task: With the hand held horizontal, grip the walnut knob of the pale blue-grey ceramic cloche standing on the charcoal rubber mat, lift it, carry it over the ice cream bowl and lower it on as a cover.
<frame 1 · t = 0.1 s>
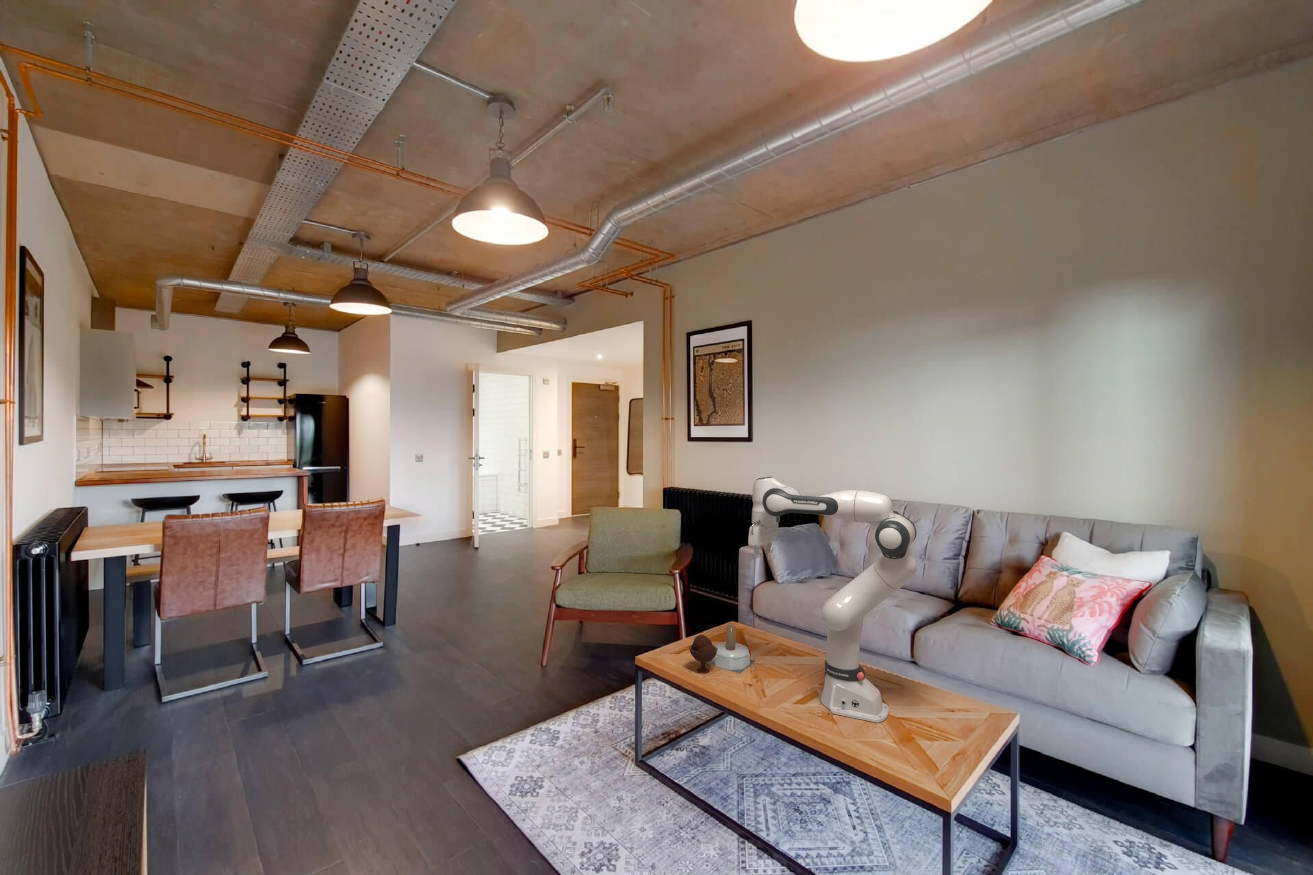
hand: (762, 555, 214), 48 cm above the table, tool pointing down, fingers open, 8 cm apart
ice cream bowl: (702, 672, 221), on the table
mat: (730, 663, 230), on the table
cloche: (730, 662, 230), resting on mat
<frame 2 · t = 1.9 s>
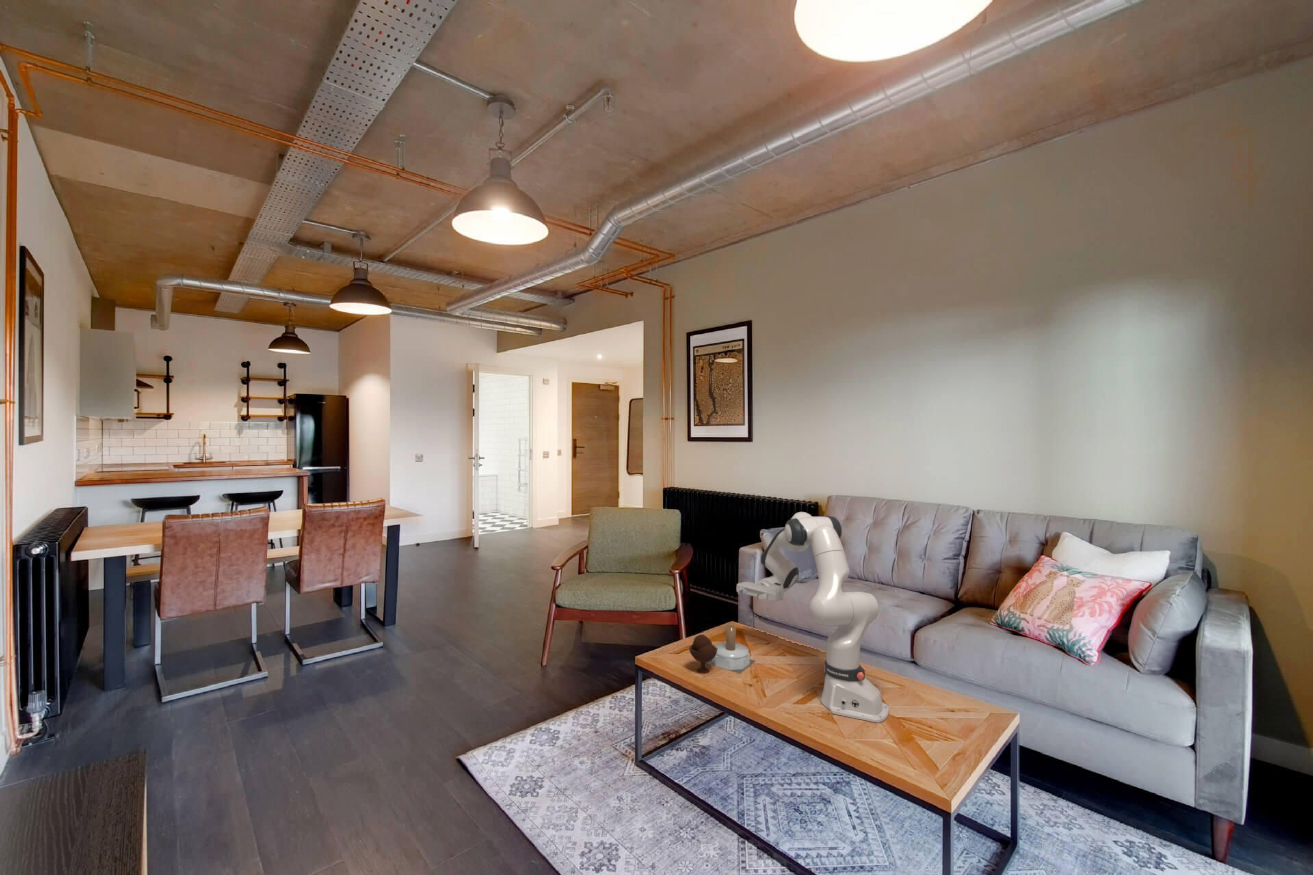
hand: (748, 594, 239), 26 cm above the table, tool horizontal, fingers open, 8 cm apart
nothing on the table moved.
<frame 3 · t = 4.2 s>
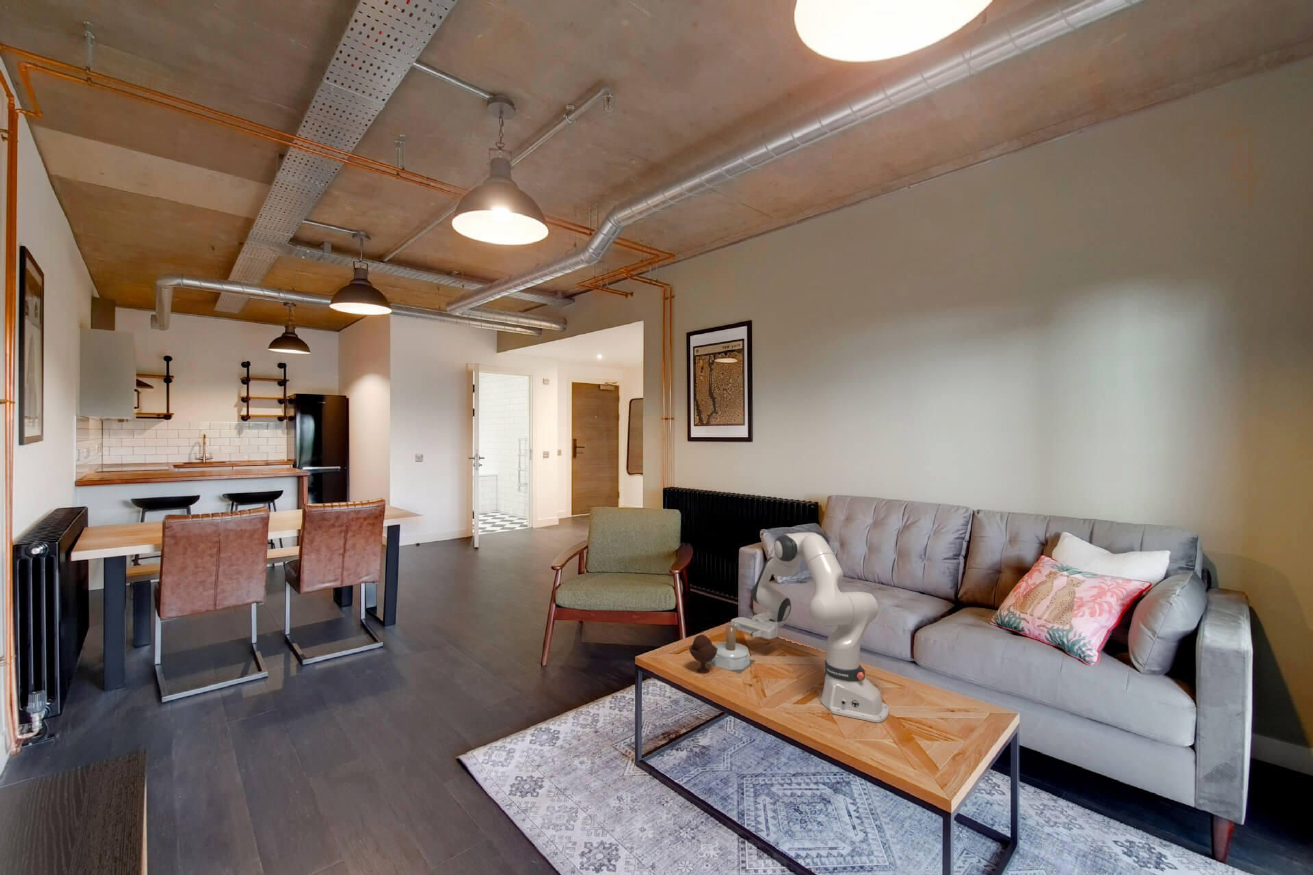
hand: (742, 632, 236), 11 cm above the table, tool horizontal, fingers open, 8 cm apart
nothing on the table moved.
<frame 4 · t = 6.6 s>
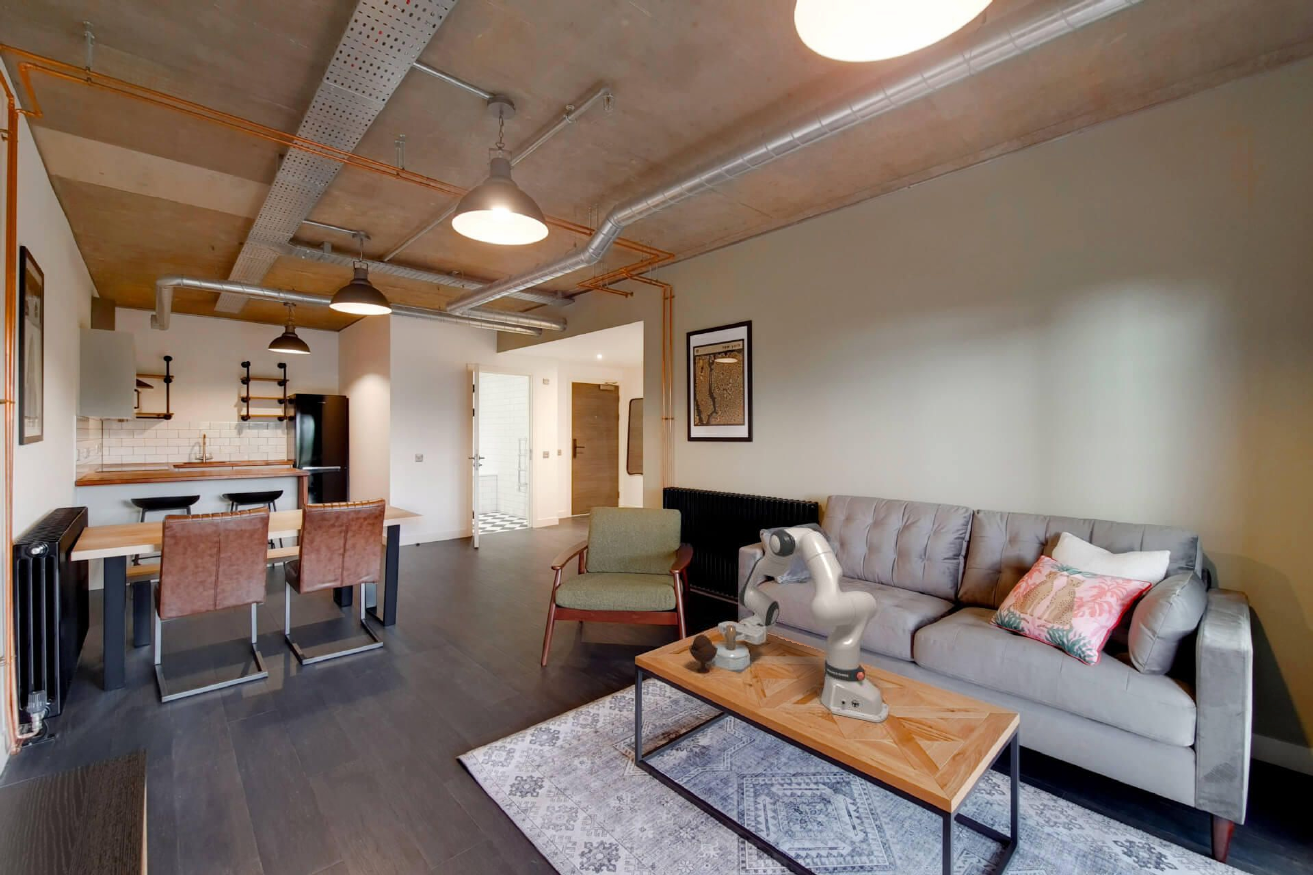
hand: (729, 637, 229), 11 cm above the table, tool horizontal, fingers closed on cloche, 4 cm apart
cloche: (730, 662, 230), resting on mat, touching gripper
everything else where it was.
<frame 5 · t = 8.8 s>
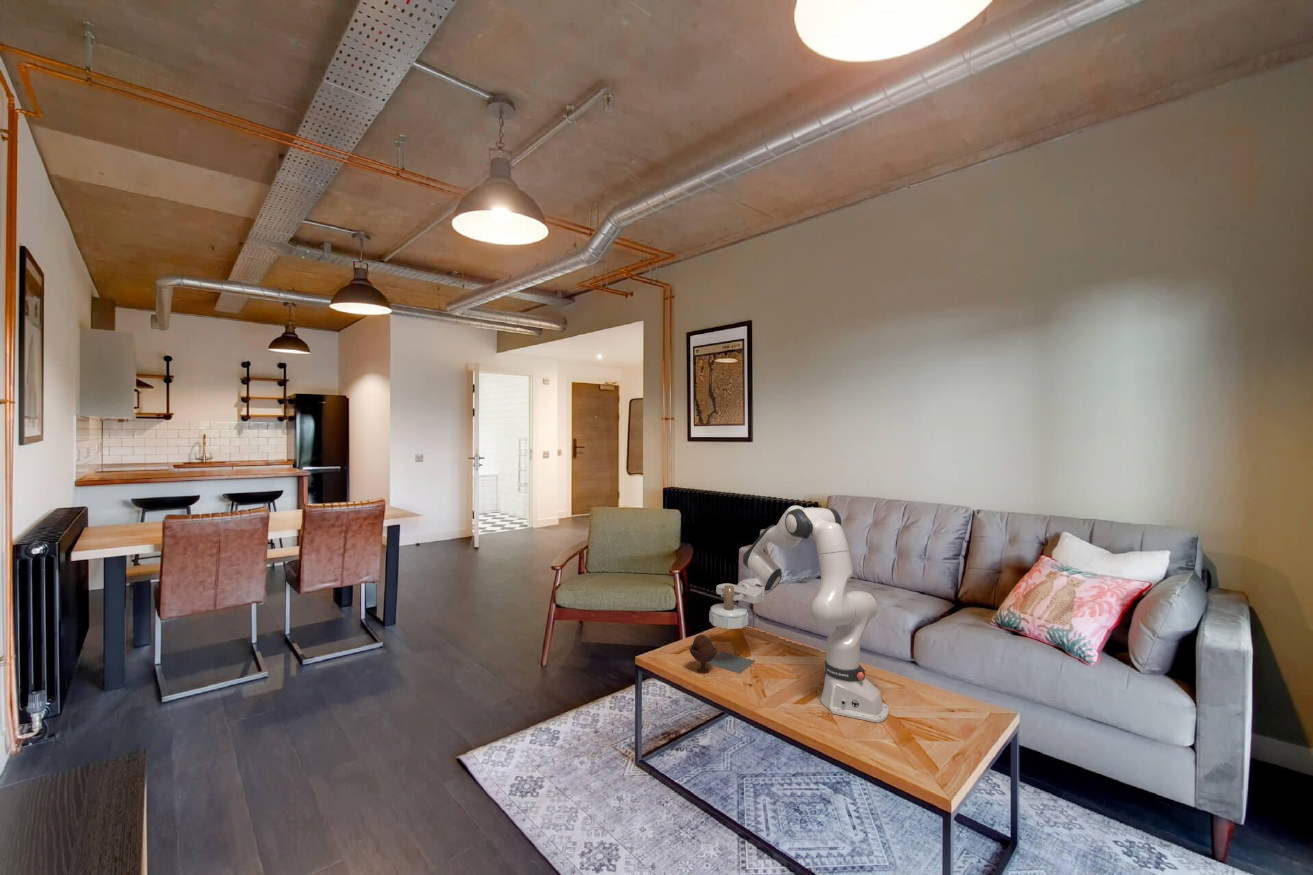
hand: (727, 596, 228), 28 cm above the table, tool horizontal, fingers closed on cloche, 4 cm apart
cloche: (728, 622, 229), point 17 cm above the table, touching gripper
everything else where it was.
when the fingers open (22 cm above the table, at t = 11.4 s): cloche moves 1 cm, resting on ice cream bowl.
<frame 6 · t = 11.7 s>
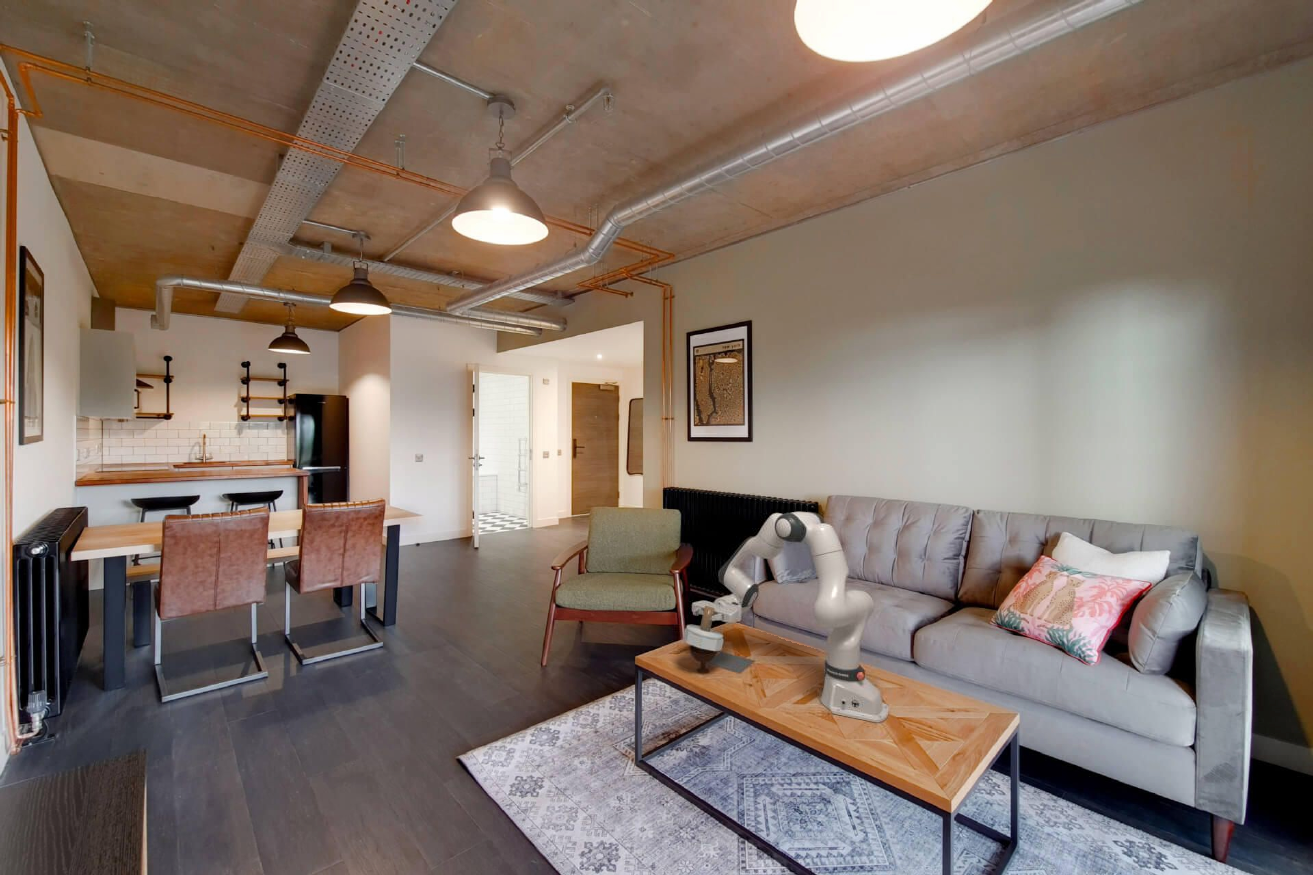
hand: (702, 615, 220), 22 cm above the table, tool horizontal, fingers open, 7 cm apart
ice cream bowl: (702, 672, 221), on the table, touching cloche
cloche: (701, 644, 221), point 11 cm above the table, tilted 15°, touching ice cream bowl
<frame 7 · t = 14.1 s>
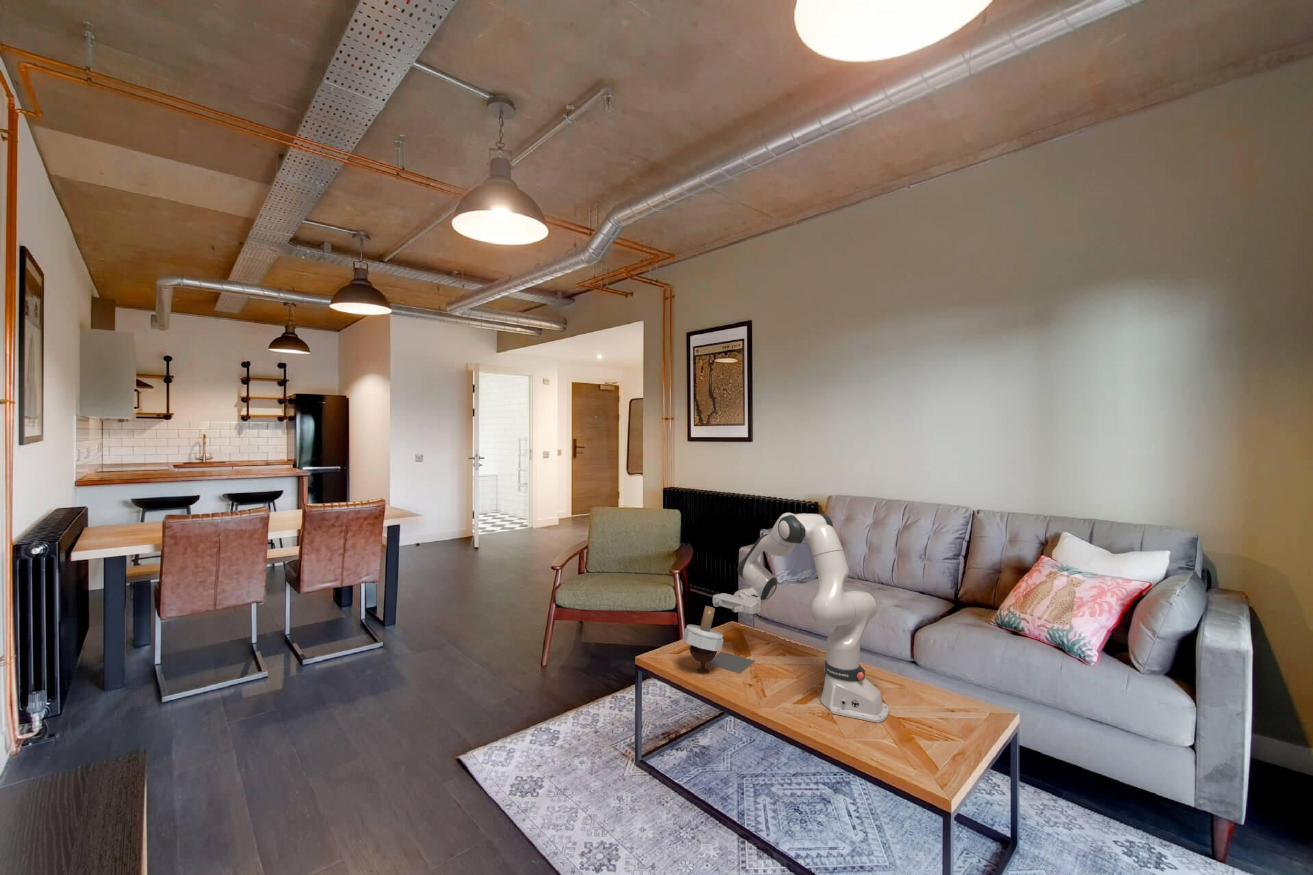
hand: (724, 607, 230), 23 cm above the table, tool horizontal, fingers open, 8 cm apart
nothing on the table moved.
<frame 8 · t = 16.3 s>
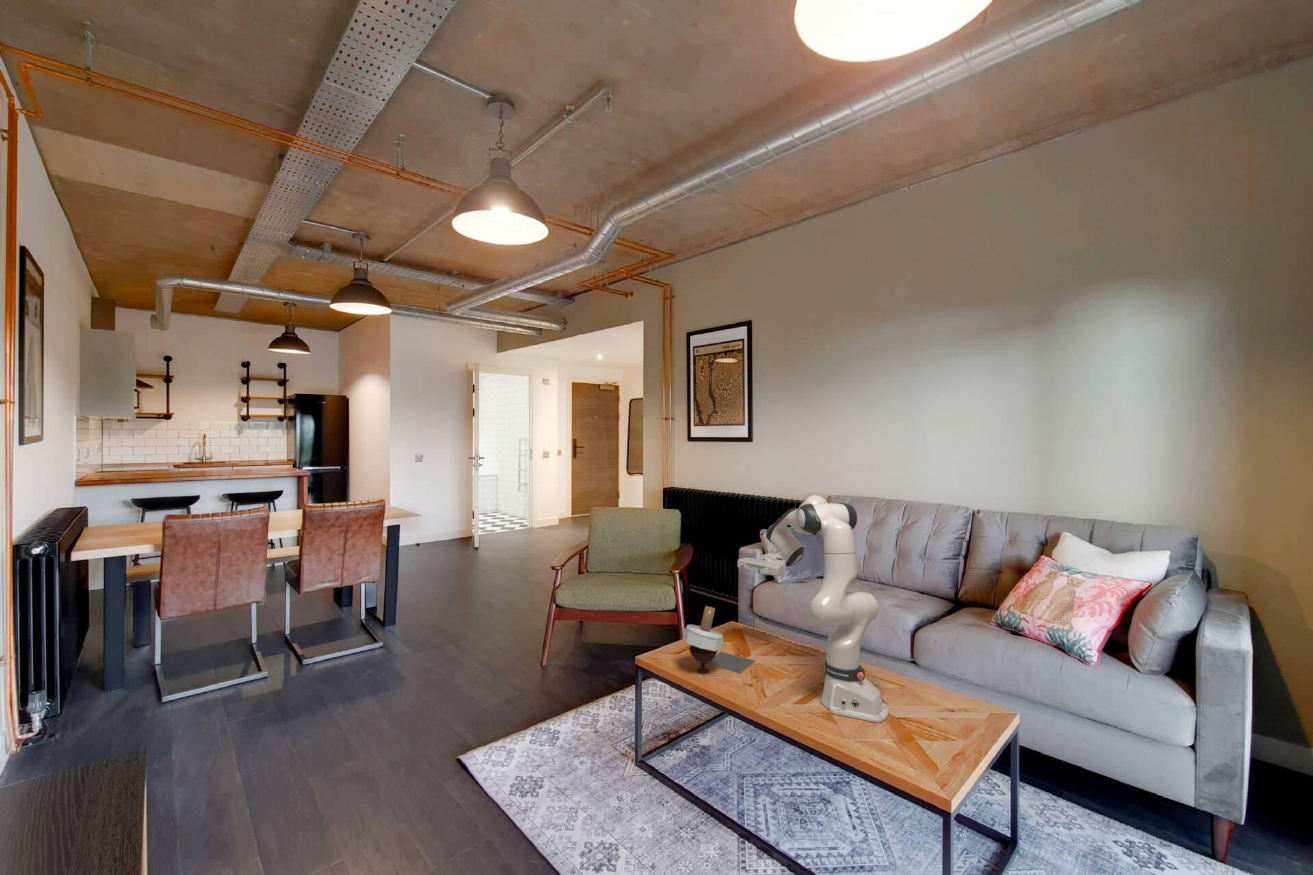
hand: (749, 569, 233), 38 cm above the table, tool horizontal, fingers open, 8 cm apart
nothing on the table moved.
at the end: cloche 0.9 cm off-centre in the ice cream bowl, point 11.4 cm above the ice cream bowl's base; cloche touching ice cream bowl; the gripper is holding nothing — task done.
